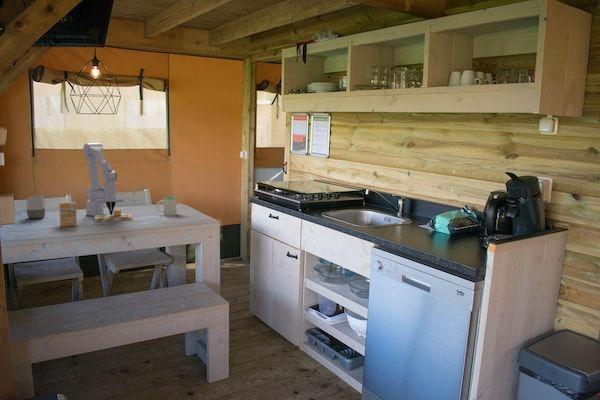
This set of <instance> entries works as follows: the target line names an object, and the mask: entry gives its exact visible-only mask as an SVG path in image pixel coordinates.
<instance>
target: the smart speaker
mask: <svg viewBox="0 0 600 400" xmlns="http://www.w3.org/2000/svg"><path fill="white" fill-rule="evenodd" d="M45 207H46V205H45V201H44V195H43V194H39V195H33V196H28V197H27V198H26V215H27V217H28V218H29V219H30V220H39V219H43V218H45V216H46V208H45Z"/></svg>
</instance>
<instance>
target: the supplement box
mask: <svg viewBox="0 0 600 400" xmlns="http://www.w3.org/2000/svg"><path fill="white" fill-rule="evenodd" d="M58 204H59V205H58V206H59V224H60V227H73V226H74V227H77V226H78V222H77V221H78V219H77V218H78V217H77V202H76V201H59V203H58Z"/></svg>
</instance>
